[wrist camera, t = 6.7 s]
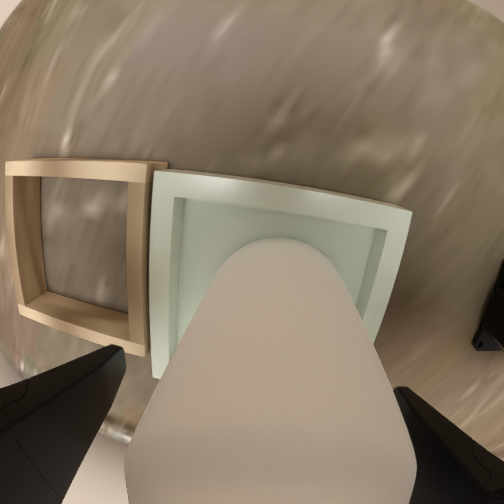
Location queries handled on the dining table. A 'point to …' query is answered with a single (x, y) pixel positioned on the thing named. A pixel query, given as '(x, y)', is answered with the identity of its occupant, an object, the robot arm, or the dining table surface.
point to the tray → (256, 228)
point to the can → (273, 395)
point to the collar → (31, 254)
